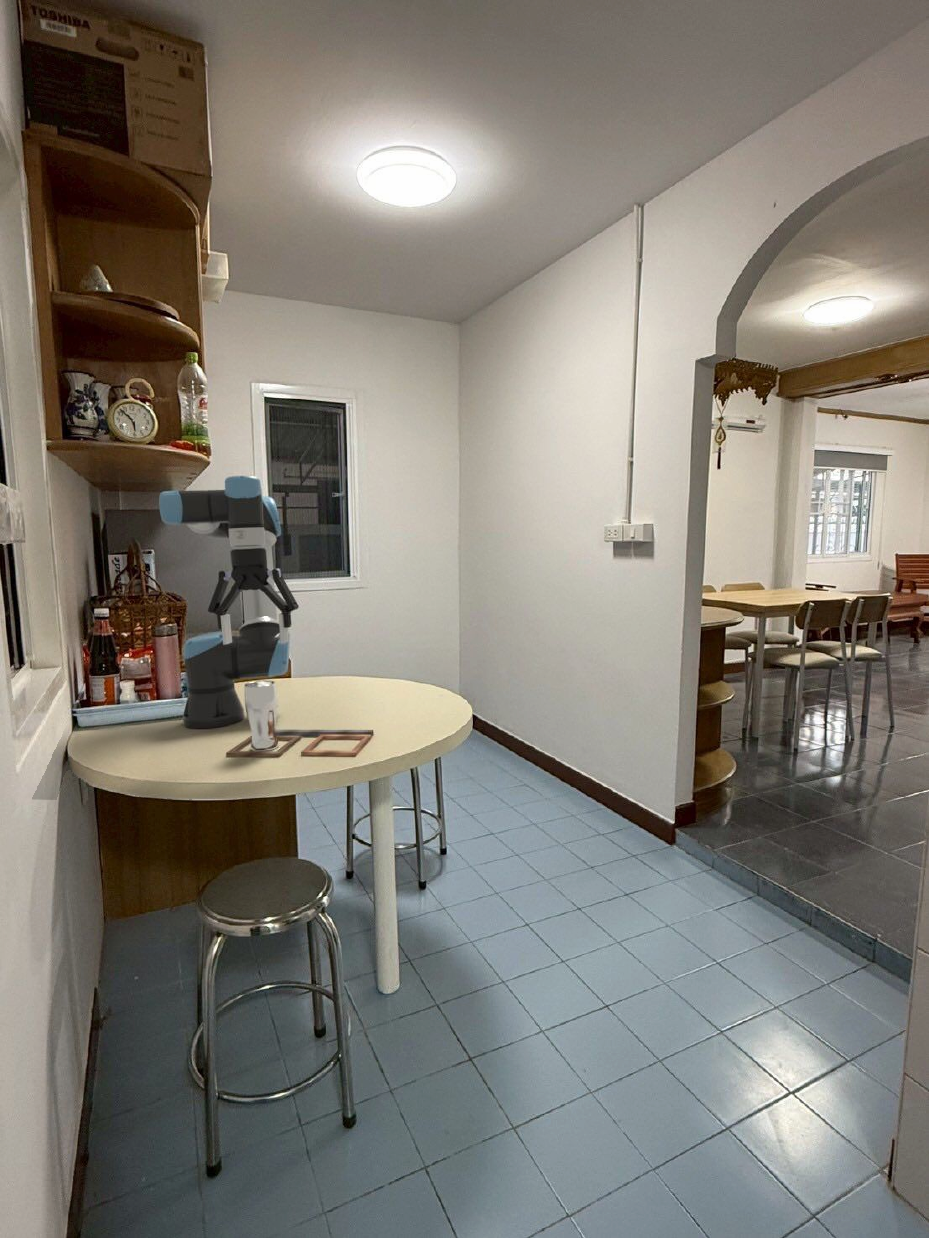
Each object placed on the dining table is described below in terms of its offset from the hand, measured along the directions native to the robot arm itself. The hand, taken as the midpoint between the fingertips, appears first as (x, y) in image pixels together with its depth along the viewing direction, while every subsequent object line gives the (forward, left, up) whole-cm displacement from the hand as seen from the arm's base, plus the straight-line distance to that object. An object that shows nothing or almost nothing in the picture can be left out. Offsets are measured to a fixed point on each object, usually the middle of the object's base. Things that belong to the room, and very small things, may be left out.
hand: (256, 643), depth 147 cm
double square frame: (+8, +2, -24) cm, 26 cm away
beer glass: (0, 0, -25) cm, 25 cm away
